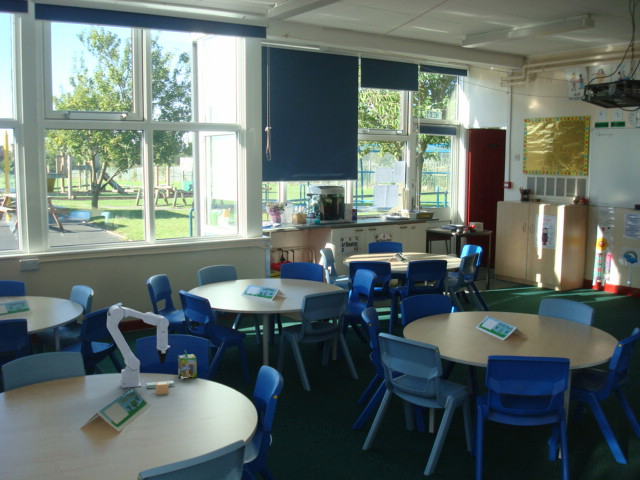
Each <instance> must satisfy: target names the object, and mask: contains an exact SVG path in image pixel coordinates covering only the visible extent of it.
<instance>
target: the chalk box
mask: <svg viewBox="0 0 640 480" xmlns="http://www.w3.org/2000/svg"><path fill="white" fill-rule="evenodd" d="M184 353H185V354H180V355H179V354H178V355H177V367H178V368H177V371H178V372H177V374H178V377H179V376H183V377H192V379H194V378H198V372H197V371H198V369H197V367H198V366H197V356H196V354H194V353H191V354H190V353H189V354H188V353H187V350H186V349H184Z"/></svg>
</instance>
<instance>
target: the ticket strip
mask: <svg viewBox="0 0 640 480" xmlns="http://www.w3.org/2000/svg"><path fill="white" fill-rule="evenodd" d="M157 382H158V381H153V382H146V384H145V385H147V386H146V389H147V388H150V389H155V388H154V387H156V383H157ZM162 382H168V384H169V386H172V387H174V386H175V381H174V380H166V381H162ZM173 385H174V386H173Z"/></svg>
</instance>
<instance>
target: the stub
mask: <svg viewBox="0 0 640 480" xmlns="http://www.w3.org/2000/svg"><path fill="white" fill-rule="evenodd" d="M156 382H157V383H156V388H155V393H156V395H166V394H167V395H168V394H169V393H170V391H169V390H170V389H169V388H170V387H169V384H168V382H163V381H156Z"/></svg>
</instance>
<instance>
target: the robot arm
mask: <svg viewBox="0 0 640 480" xmlns="http://www.w3.org/2000/svg"><path fill="white" fill-rule="evenodd" d="M106 314H107V315H106V316H107V317H106V328H107V330H108V332H109V333H110V335H111V337H112V338H113V339H112V340H114V342H115V344H116V346H117V347H118V349H119V352H120V353H121V355H122V357H123V359H124V360H123V361H124V364H125V365H126V366H125V367H124V368H123V369H121V373H120V374H121V377H120V378H121V380H120V384H121V388H122V389H124V388H134V387H141V385H142V384H141V381H140V366H141V361H140V360H139V358H137V357H136V356H135V354H134V353H133V352H132V350H131V348H130V346H129V345H128V343H127V341H126V340H125V337H124V336H123V334H122V332H121V331H120V330H121V329H119V323H120V322H121V321H122V320H123V318H127V317H132V318H137V319H141V320H142V321H143V323H145V324H148V325H152V326H154V327H155V326H156V349H157V350H156V352H157V354H158V357H159V362H160V364H165V363H166V357H167V355H168V353H169V350H168V349H169V348H171V345H169V339H168V338H169V336H168V334H169V332H168V331H169V330H168V327H169V325H170V322H169V320H168V318H167V317H165V316H163V315H161V314H155V313H153V311H148V312H144V313H143V312H141V311H138V310H135V309H133V308H130V307H125V306H121V305H120V306H119V305H116V304H115V305H112V306H110V307H109V308H108V311H107V313H106Z"/></svg>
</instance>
